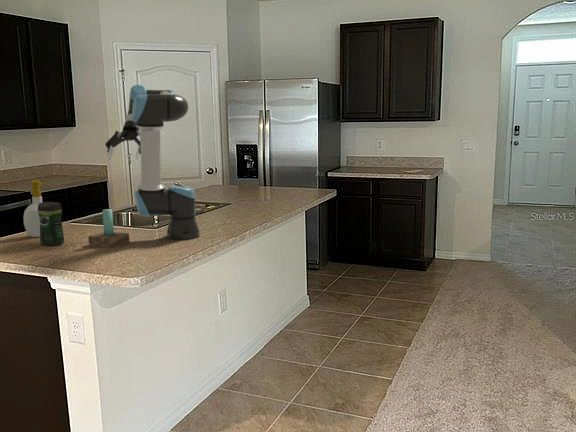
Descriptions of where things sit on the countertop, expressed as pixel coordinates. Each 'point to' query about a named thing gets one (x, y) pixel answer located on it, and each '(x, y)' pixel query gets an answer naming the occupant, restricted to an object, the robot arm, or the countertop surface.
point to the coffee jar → (50, 223)
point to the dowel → (108, 222)
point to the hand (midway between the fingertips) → (122, 158)
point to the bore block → (108, 239)
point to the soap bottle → (33, 212)
